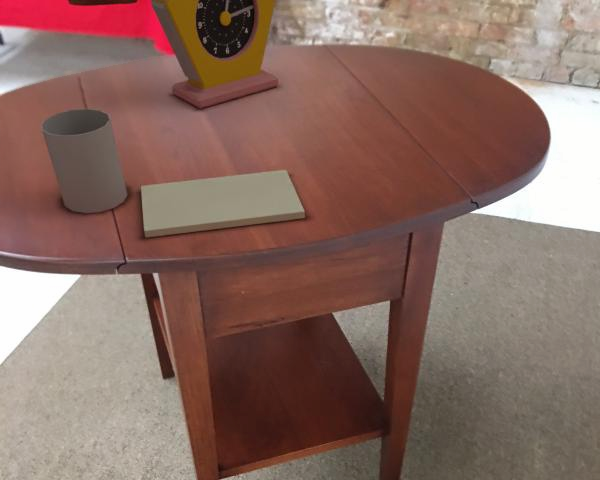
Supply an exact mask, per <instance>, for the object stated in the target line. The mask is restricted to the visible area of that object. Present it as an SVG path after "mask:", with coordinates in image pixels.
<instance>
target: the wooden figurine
mask: <svg viewBox="0 0 600 480" xmlns="http://www.w3.org/2000/svg"><path fill="white" fill-rule="evenodd" d="M138 1H139V0H67V3H68V4H69V5H72V6H81V7H90V6H92V7H93V6H107V5H108V6H110V5H128V4H129V5H132V4H136V3H138Z"/></svg>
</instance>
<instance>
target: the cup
mask: <svg viewBox="0 0 600 480" xmlns="http://www.w3.org/2000/svg"><path fill="white" fill-rule="evenodd" d="M40 128H41V132H42V135H43V139H44V142H45V145H46V147H47V152H48V154H49V158H50V161H51V164H52V168H53V171H54V175H55V178H56V181H57V184H58V187H59V188H58V189H59V191H60V194H61V197H62V201H63V205H64V207H65V208H67V209H69V210H70V211H72V212H76V213H81V214H93V213H101V212H106V211H108V210H112V209H114V208H116V207H118V206H119V205H121V204H122V203H124V202H125V200H126V198H127V197H128V191H127V186H126V182H125V178H124V173H123V169H122V164H121V160H120V155H119V150H118V145H117V142H116V137H115V133H114V129H113V124H112V120H111V117H110V114H109V113H108V112H105V111H102V110H100V109H92V108H78V109H69V110H65V111H61V112H57V113H55V114H53V115H51V116H47V117H46V118H45V119H44V120H43V121H42V122H41V123H40Z"/></svg>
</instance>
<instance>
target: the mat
mask: <svg viewBox="0 0 600 480" xmlns="http://www.w3.org/2000/svg"><path fill="white" fill-rule="evenodd" d="M140 194H141V208H142V222H143V223H142V224H143V233H144V238H155V237H164V236H171V235H179V234H187V233H195V232H202V231H203V232H205V231H210V230H219V229H228V228H236V227H237V228H238V227H243V226H251V225H261V224H268V223H276V222H284V221H293V220H301V219H305V217H306V213H305V212H306V211H305V208H304V207H303V205H302V202H301V200H300V198H299V195H298V193H297V191H296V189H295V186H294V184H293V182H292V180H291V177H290V176H289V173H288V171H287V169H278V170H272V171H263V172H254V173H253V172H252V173H245V174H243V173H242V174H236V175H234V174H233V175H226V176H216V177H208V178H199V179H198V178H197V179H189V180H181V181H173V182H171V181H170V182H164V183H163V182H162V183H155V184H147V185H146V184H145V185H140Z"/></svg>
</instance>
